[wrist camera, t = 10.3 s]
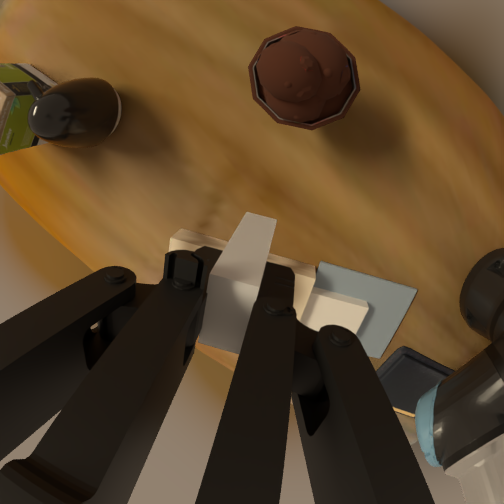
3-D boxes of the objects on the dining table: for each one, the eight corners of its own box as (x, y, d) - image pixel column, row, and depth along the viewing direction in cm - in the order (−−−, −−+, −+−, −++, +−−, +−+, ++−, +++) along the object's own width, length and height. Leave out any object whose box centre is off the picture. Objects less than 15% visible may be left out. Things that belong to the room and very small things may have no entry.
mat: (416, 288, 43) (417, 290, 43) (379, 356, 49) (379, 358, 48) (320, 260, 44) (320, 262, 43) (291, 336, 49) (291, 337, 49)
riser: (315, 266, 44) (315, 278, 40) (290, 331, 49) (289, 346, 45) (181, 228, 45) (170, 237, 41) (171, 295, 50) (162, 308, 46)
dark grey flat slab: (467, 380, 47) (416, 424, 53) (464, 374, 49) (414, 418, 55) (405, 346, 46) (349, 399, 52) (403, 339, 47) (348, 392, 54)
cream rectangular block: (366, 301, 45) (368, 308, 43) (351, 331, 47) (352, 339, 45) (310, 285, 45) (310, 292, 43) (298, 318, 47) (297, 325, 46)
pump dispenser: (118, 66, 37) (48, 54, 23) (141, 124, 40) (73, 130, 26) (71, 101, 40) (1, 105, 26) (92, 155, 43) (23, 174, 29)
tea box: (10, 109, 41) (-48, 118, 28) (29, 62, 37) (-31, 61, 24) (50, 144, 43) (-14, 160, 30) (73, 93, 39) (5, 93, 26)
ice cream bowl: (303, 146, 38) (304, 156, 24) (243, 85, 36) (210, 63, 22) (364, 95, 34) (397, 78, 20) (303, 33, 32) (302, -13, 19)
